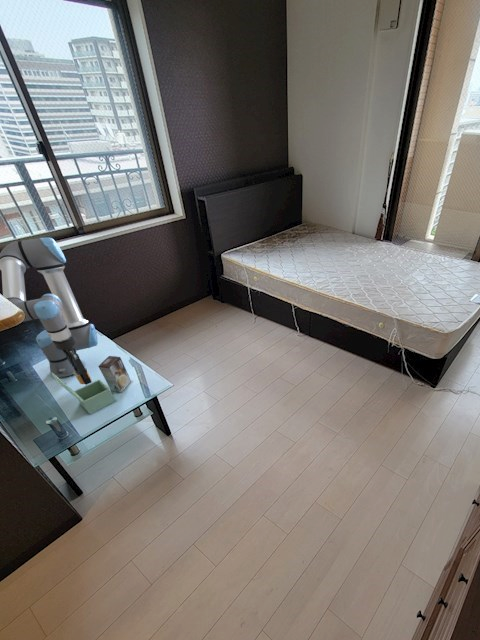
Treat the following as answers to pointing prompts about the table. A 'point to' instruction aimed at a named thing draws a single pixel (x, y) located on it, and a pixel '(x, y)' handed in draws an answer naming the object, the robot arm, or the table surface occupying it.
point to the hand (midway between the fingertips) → (85, 380)
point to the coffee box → (115, 373)
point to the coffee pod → (80, 376)
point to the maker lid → (66, 387)
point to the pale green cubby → (95, 396)
